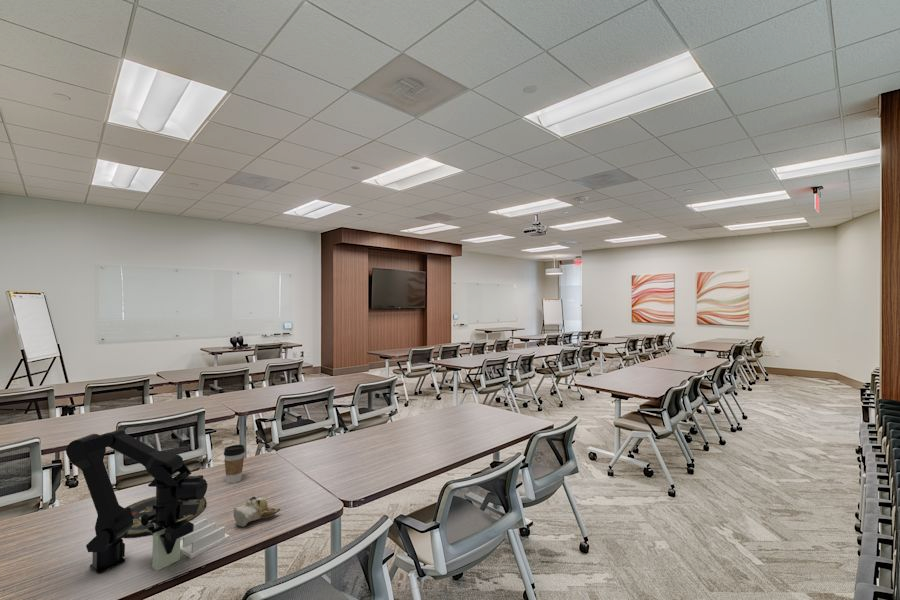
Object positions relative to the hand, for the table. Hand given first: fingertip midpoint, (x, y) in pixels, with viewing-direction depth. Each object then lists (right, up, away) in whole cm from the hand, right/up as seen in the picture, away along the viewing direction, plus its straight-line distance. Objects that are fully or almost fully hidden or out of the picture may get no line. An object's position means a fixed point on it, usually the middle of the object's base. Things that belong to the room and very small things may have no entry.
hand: (166, 551), depth 118 cm
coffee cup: (-11, -5, +57) cm, 58 cm away
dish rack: (+3, -4, +11) cm, 12 cm away
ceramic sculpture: (+14, -5, +25) cm, 29 cm away
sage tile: (0, -4, 0) cm, 4 cm away
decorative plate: (-23, -5, +28) cm, 36 cm away
